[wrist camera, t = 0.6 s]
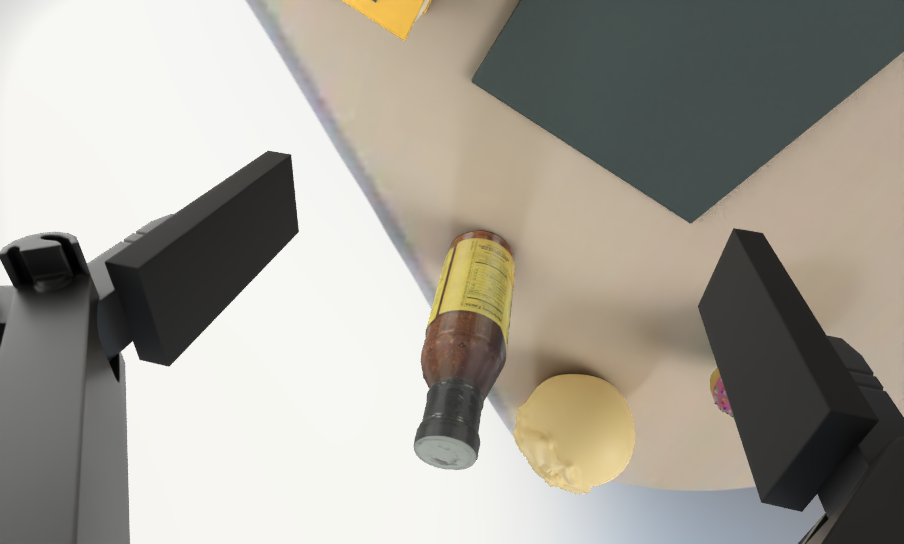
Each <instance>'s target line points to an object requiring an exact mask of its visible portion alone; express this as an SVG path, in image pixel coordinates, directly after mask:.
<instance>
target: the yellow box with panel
mask: <svg viewBox="0 0 904 544" xmlns="http://www.w3.org/2000/svg"><path fill="white" fill-rule="evenodd" d="M342 1H343V2H345V3H346V4H348V5H350V6H351V7H353V8H354V9H356V10H357V11H359V12H360V13H362V14H364V15H365V16H367V17H368V18H370V19H371V20H373V21H374V22H376V23H377V24H379V25H381V26H382V27H384V28H385V29H387V30H388V31H390V32H391V33H393V34H395V35H396V36H398V37H399V38H401V39H402V40H404V41H405V40H406V39H407V37H408V35H409V33H410V30H411V28H412V26H413V24H414V23H415V22H416V20H417V19H418V18H419V17H420V15H421V14H422V13H423V14H425V13H426V11H427V9H428V7H429V5H430V3H431V1H432V0H342Z"/></svg>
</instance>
